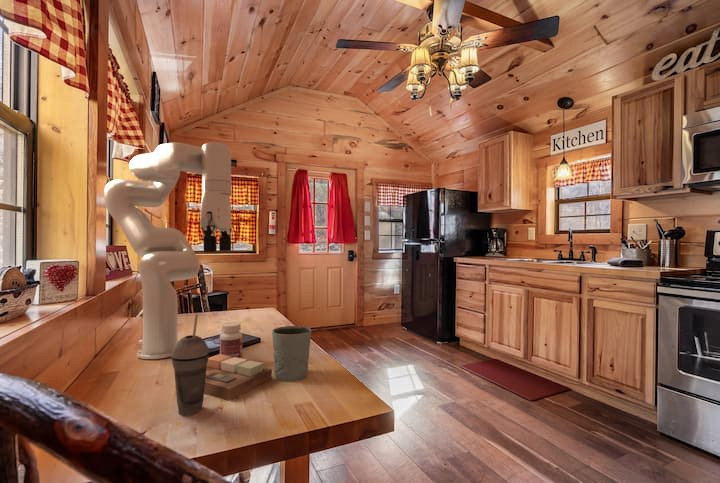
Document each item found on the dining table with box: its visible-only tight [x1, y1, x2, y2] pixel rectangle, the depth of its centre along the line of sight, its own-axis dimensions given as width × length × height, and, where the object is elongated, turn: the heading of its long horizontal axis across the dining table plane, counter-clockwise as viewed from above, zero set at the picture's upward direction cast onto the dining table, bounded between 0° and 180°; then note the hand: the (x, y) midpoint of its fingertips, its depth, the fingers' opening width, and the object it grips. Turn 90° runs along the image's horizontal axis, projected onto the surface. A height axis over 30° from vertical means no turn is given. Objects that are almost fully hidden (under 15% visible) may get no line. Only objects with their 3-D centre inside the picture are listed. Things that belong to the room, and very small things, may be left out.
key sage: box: [237, 360, 264, 377], centre depth 93 cm, size 4×4×2 cm
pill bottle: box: [219, 321, 243, 359], centre depth 107 cm, size 6×6×11 cm
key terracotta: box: [206, 353, 232, 369], centre depth 98 cm, size 4×4×2 cm
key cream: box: [221, 357, 248, 373], centre depth 96 cm, size 4×4×2 cm
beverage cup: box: [170, 314, 210, 416], centre depth 78 cm, size 7×7×20 cm
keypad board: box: [204, 366, 273, 401], centre depth 93 cm, size 18×14×3 cm
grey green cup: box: [271, 325, 312, 382], centre depth 98 cm, size 10×10×12 cm
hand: (218, 251), depth 103 cm, fingers open, 9 cm apart
